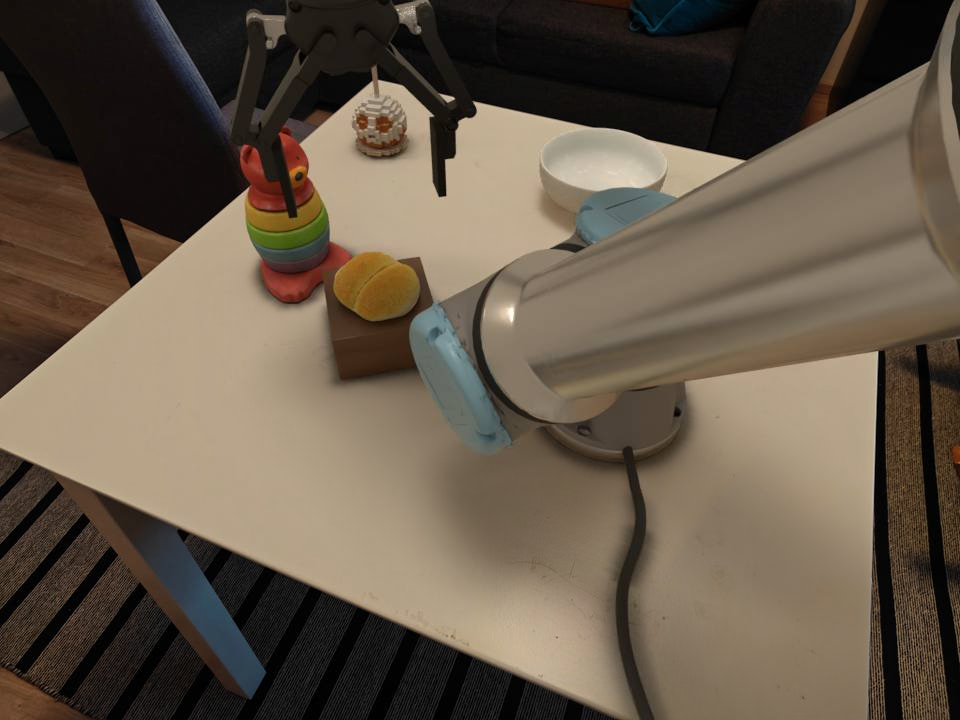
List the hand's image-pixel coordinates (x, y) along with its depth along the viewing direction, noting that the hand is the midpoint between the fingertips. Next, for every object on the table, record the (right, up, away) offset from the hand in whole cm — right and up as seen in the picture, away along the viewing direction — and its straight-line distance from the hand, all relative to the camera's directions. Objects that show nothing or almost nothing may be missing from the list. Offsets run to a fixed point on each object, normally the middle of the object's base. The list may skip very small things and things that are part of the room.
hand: (367, 199), depth 60 cm
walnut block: (0, -12, +13) cm, 18 cm away
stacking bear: (-12, -3, +21) cm, 25 cm away
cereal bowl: (+27, +7, +32) cm, 42 cm away
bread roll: (0, -8, +9) cm, 12 cm away
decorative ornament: (-5, +18, +41) cm, 45 cm away
